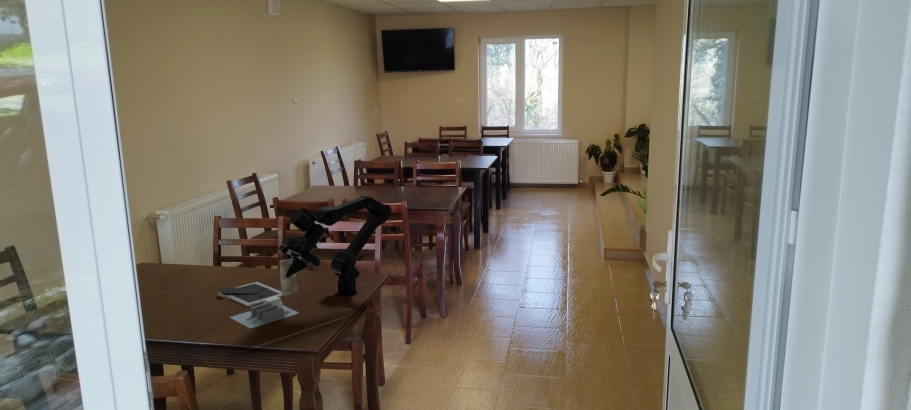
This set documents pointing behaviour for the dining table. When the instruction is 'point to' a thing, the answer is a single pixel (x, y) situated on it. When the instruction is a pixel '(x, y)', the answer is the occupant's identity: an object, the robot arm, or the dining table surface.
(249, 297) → the picture frame
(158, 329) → the dining table surface
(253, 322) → the slot rack
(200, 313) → the dining table surface
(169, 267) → the dining table surface
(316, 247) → the robot arm
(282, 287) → the birch panel
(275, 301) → the offcut stack
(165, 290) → the dining table surface
